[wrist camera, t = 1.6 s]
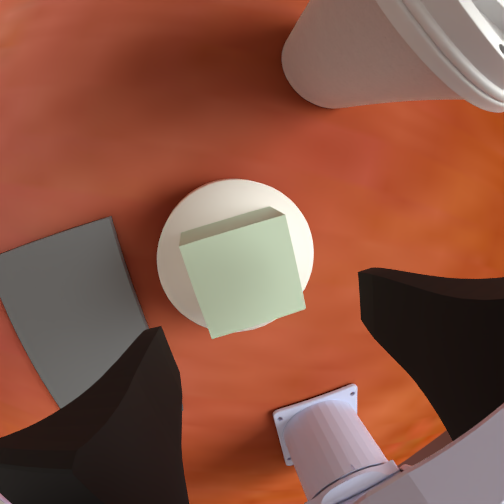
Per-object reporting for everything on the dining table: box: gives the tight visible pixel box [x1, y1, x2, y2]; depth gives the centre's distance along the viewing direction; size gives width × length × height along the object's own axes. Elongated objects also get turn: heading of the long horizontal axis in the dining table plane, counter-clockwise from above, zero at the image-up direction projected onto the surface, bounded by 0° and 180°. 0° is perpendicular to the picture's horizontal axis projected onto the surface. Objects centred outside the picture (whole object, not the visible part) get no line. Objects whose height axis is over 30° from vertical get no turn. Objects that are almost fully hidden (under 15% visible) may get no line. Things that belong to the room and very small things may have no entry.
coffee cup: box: [282, 0, 504, 112], centre depth 11 cm, size 10×10×15 cm
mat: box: [0, 216, 183, 411], centre depth 20 cm, size 16×11×1 cm
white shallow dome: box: [157, 178, 314, 332], centre depth 19 cm, size 9×9×3 cm
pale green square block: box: [179, 206, 306, 339], centre depth 16 cm, size 5×5×3 cm
